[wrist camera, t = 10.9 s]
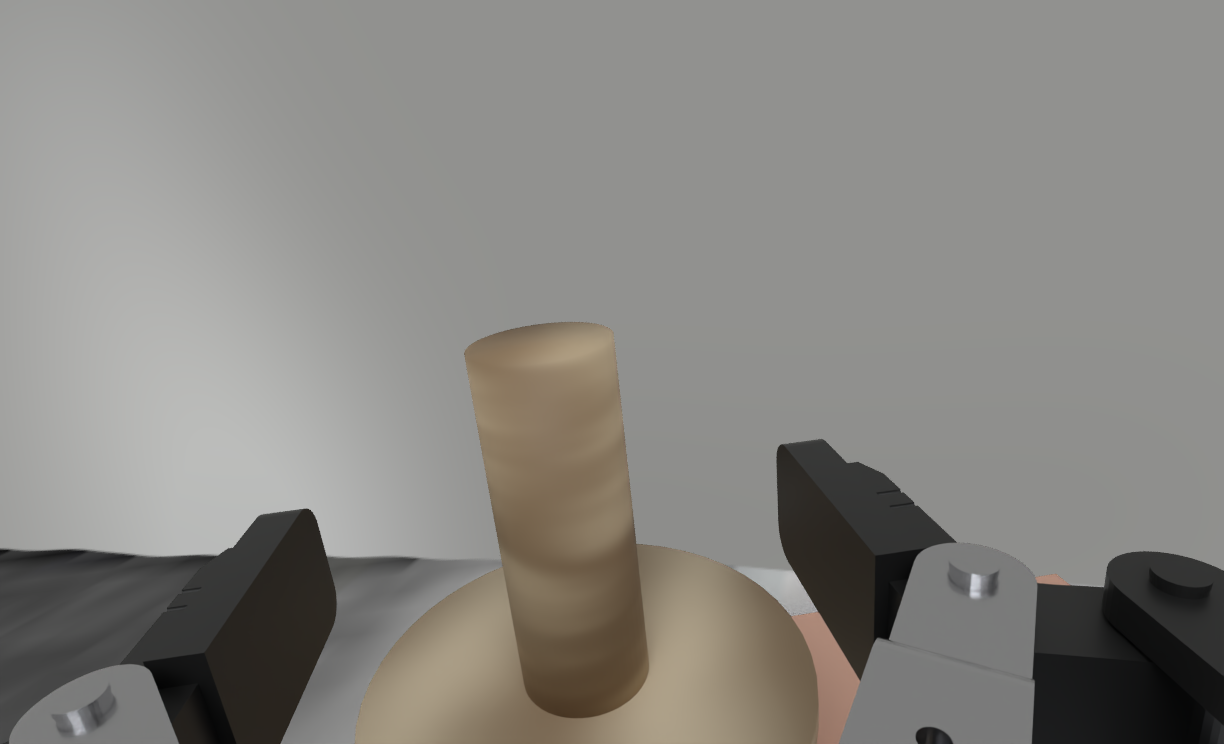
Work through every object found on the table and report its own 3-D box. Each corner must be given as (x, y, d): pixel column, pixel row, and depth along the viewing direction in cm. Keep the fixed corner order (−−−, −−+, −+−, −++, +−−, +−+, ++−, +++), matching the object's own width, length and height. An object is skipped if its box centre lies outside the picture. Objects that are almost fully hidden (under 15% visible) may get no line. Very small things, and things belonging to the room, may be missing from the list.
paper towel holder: (742, 541, 25) (728, 268, 22) (914, 871, 13) (936, 396, 10) (409, 591, 24) (344, 315, 21) (289, 985, 13) (109, 509, 9)
